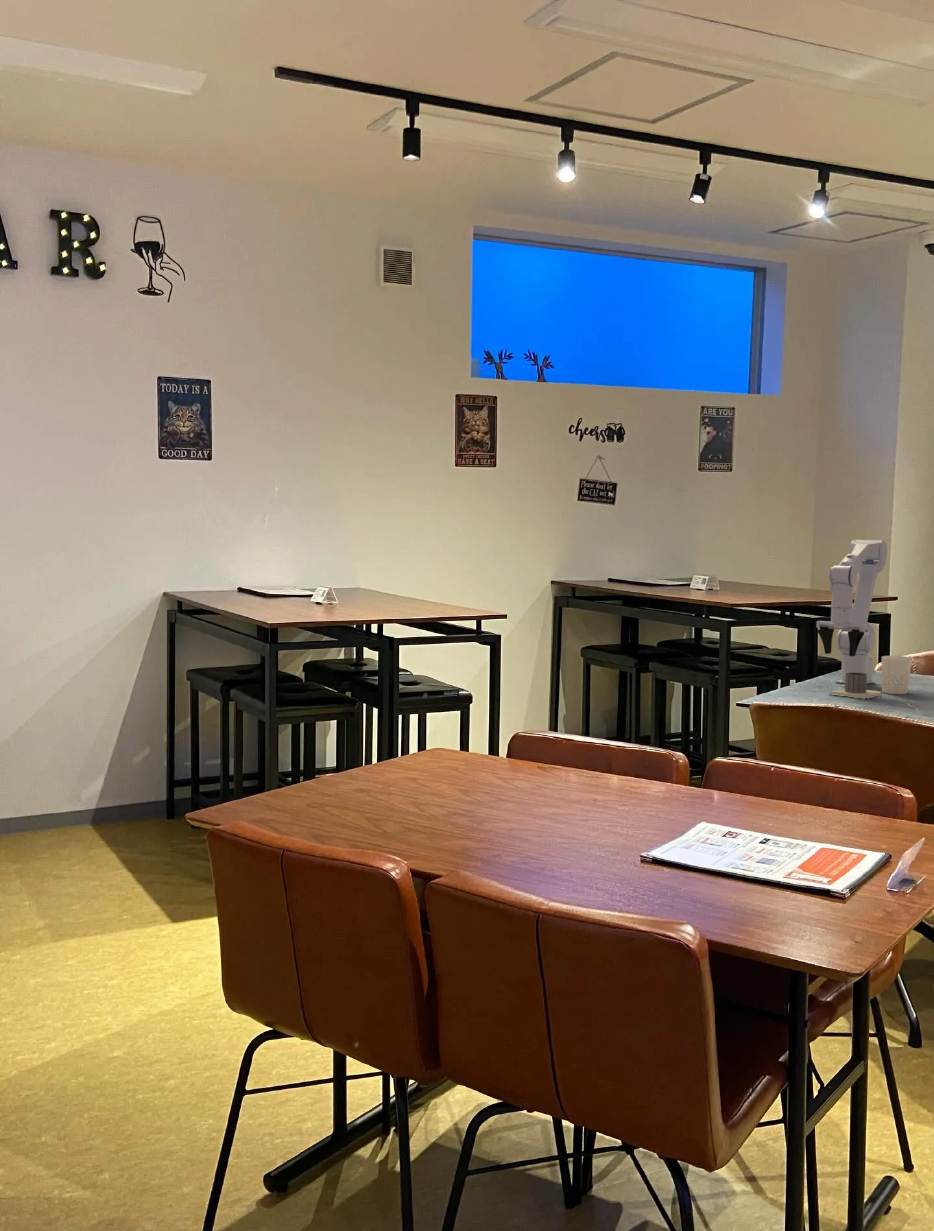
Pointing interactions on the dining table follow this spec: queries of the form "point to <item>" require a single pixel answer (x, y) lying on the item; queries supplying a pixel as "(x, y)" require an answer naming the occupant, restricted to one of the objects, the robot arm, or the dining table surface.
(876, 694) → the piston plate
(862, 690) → the ring
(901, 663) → the white cup
